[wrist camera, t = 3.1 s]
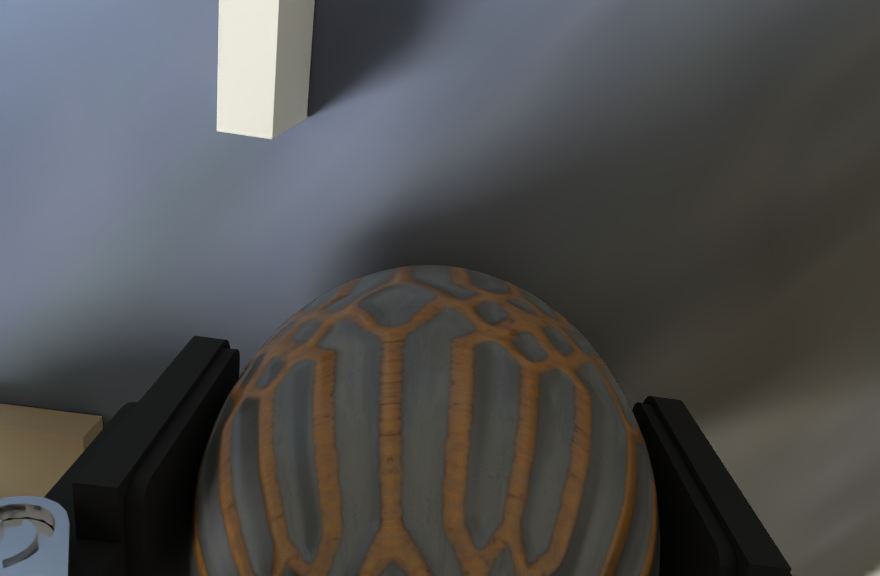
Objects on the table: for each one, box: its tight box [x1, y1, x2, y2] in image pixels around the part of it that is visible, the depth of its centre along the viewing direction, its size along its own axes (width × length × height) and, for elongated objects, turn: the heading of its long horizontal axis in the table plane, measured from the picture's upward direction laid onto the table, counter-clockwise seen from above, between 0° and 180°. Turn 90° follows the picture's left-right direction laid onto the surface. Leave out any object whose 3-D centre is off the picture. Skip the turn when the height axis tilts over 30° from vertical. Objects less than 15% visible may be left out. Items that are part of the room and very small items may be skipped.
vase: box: [188, 265, 660, 576], centre depth 9 cm, size 7×7×9 cm
